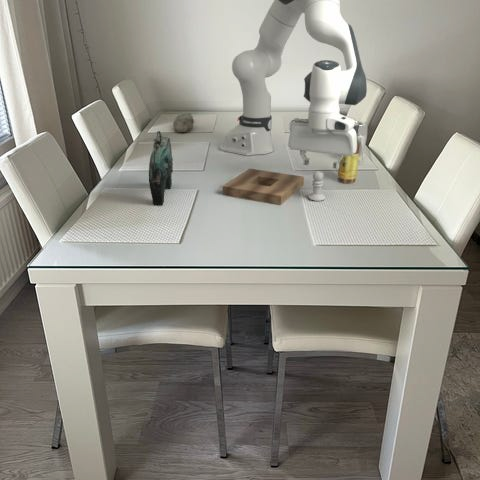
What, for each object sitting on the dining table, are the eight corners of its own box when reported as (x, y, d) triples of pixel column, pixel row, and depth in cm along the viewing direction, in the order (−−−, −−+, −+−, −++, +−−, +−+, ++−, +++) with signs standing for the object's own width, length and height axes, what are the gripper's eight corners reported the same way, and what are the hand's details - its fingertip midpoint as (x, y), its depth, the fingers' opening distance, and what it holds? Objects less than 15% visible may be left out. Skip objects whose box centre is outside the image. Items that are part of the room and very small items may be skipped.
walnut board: (222, 195, 157) (222, 186, 156) (249, 176, 173) (249, 168, 172) (280, 205, 149) (281, 195, 148) (303, 185, 165) (303, 176, 164)
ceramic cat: (159, 184, 167) (154, 125, 158) (178, 184, 167) (174, 125, 158) (147, 206, 149) (141, 141, 140) (168, 206, 149) (164, 141, 140)
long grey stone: (195, 120, 262) (176, 121, 262) (194, 110, 260) (175, 111, 259) (193, 132, 230) (172, 134, 229) (192, 121, 228) (171, 122, 227)
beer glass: (364, 166, 184) (368, 125, 177) (345, 165, 185) (348, 125, 179) (363, 160, 190) (368, 121, 183) (345, 159, 191) (349, 120, 185)
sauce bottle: (335, 178, 171) (340, 120, 163) (352, 177, 172) (358, 120, 163) (340, 184, 165) (345, 125, 157) (358, 184, 166) (364, 125, 157)
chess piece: (323, 202, 151) (325, 174, 147) (306, 200, 153) (308, 172, 149) (326, 196, 156) (329, 169, 152) (310, 194, 157) (311, 167, 153)
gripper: (286, 119, 145) (284, 165, 151) (355, 125, 137) (350, 173, 143) (293, 115, 150) (292, 159, 156) (360, 121, 142) (356, 167, 148)
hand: (320, 166), depth 150 cm, fingers open, 8 cm apart
